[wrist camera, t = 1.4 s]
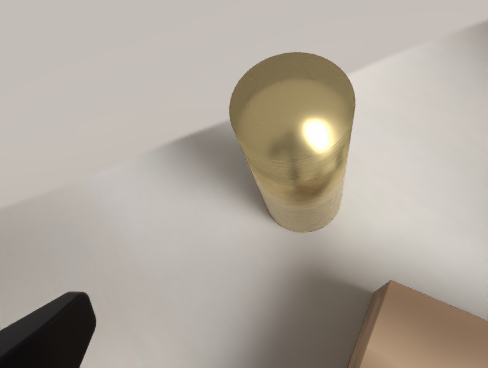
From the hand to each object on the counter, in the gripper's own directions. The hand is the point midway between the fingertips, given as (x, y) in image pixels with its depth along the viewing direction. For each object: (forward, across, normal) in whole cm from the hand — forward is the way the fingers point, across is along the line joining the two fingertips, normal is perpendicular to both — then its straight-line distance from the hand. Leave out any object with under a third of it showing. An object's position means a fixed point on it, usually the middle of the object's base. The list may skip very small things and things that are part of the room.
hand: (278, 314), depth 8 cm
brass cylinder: (+14, 0, +4) cm, 15 cm away
